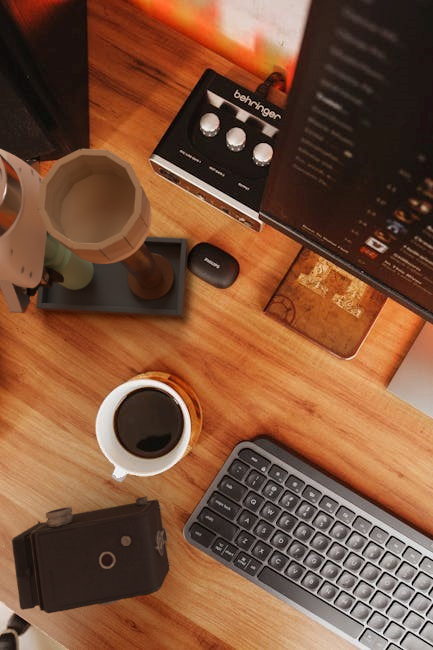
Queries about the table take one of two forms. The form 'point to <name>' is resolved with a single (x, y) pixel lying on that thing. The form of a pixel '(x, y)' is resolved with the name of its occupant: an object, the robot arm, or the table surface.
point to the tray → (122, 287)
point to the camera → (91, 557)
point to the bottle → (67, 264)
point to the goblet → (104, 217)
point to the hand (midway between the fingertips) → (51, 254)
